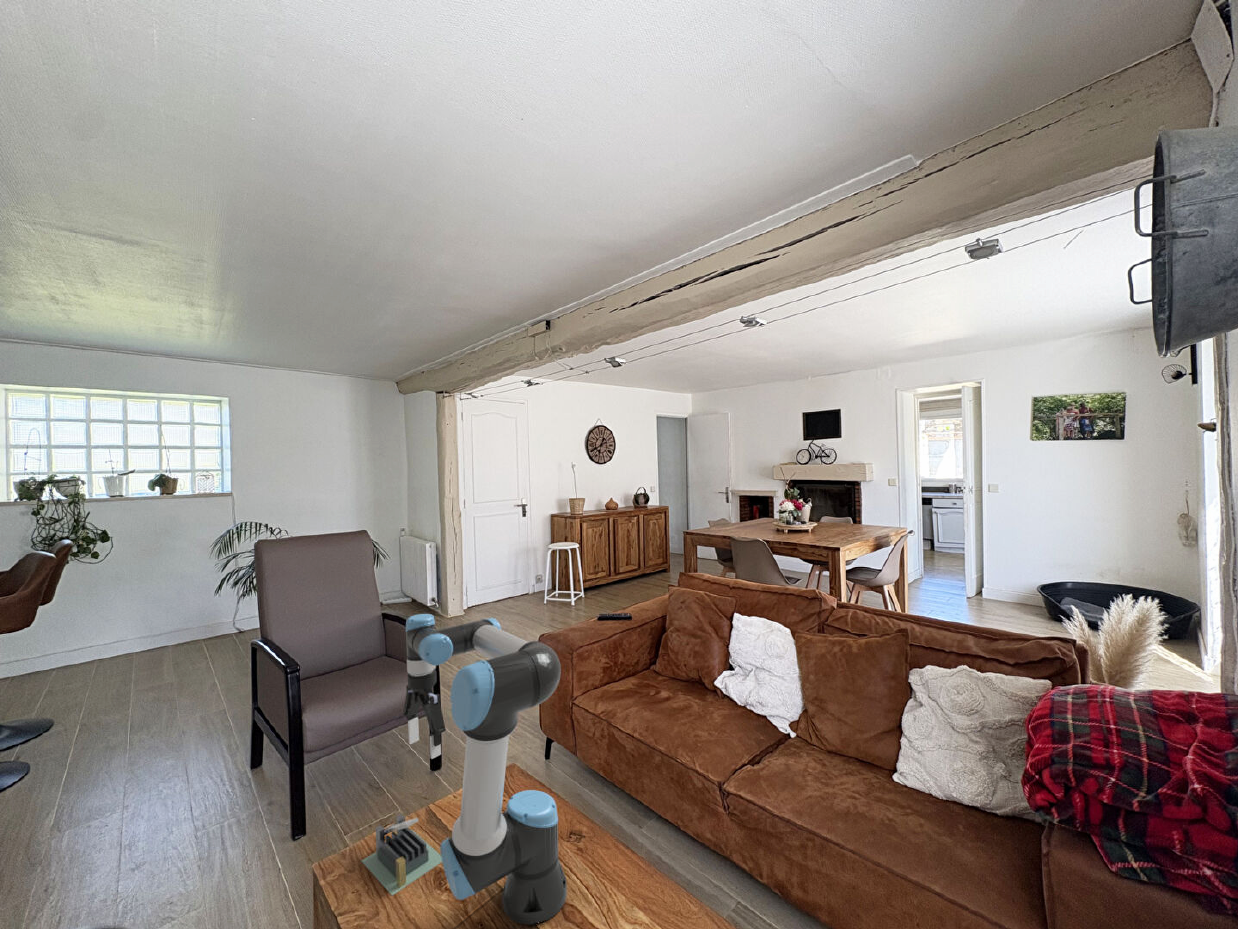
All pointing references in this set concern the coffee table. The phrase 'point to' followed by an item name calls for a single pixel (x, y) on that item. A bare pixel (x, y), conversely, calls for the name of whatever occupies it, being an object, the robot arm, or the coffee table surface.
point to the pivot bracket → (381, 834)
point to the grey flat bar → (400, 825)
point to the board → (390, 880)
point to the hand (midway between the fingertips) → (424, 749)
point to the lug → (400, 872)
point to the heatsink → (403, 851)
